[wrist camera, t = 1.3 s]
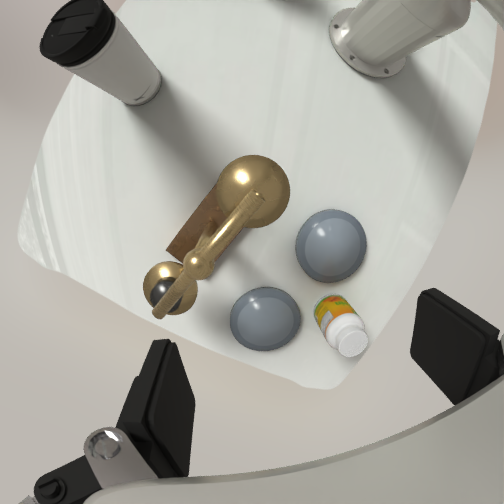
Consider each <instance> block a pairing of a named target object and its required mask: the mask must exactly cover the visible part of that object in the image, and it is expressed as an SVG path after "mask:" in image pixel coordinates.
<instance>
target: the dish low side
mask: <svg viewBox="0 0 504 504" xmlns="http://www.w3.org/2000/svg"><path fill="white" fill-rule="evenodd" d="M230 326H231V331H232V333H233V335H234V337H235V338H236V340H237V341H238V342H239V343H240V344H242V345H243V346H245V347H247V348H249V349H252V350H256V351H270V350H274V349H277V348H280V347H282V346H284V345H285V344H287V343H288V342H289V341H290V340H291V339H292V338H293V337H294V336H295V334H296V333H297V331H298V329H299V326H300V312H299V309H298V307H297V304H296V303H295V301H294V299H293V298H292V297H291V296H290V295H289V294H287V293H286V292H284V291H282V290H280V289H277V288H272V287H262V288H257V289H253V290H251V291H249V292H247V293H245V294H244V295H242V296H241V297H240V298H239V299H238V300H237V301H236V303H235V304H234V306H233V308H232V311H231V316H230Z"/></svg>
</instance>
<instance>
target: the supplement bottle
mask: <svg viewBox="0 0 504 504" xmlns="http://www.w3.org/2000/svg"><path fill="white" fill-rule="evenodd" d="M314 317H315V320H316V322H317V324H318V325H319V327H320V329H321V331H322V333H323V335H324V336H325V338H326V340H327V342H328V343H329V345H330V346H331V347H333V348H334V349H337V350H338V351H339V352H340V354H341V355H342V356H344V357H354V356H356V355H358V354H360V353H361V352H362V351H363V350H364V349H365V348H366V346H367V343H368V336H367V334H366V333H365V332H364V329H365V328H364V323H363V321H362V319H361V318H360V317H359V315H358V314H357V313H356V312H355V311H354V309H353V308H352V307H351V306H350V305H349V303H348V302H347V301H346V300H345V299H344V298H343V297H342V296H340V295H338V294H330V295H326V296H324V297H323V298H321V299H320V300H319V301H318V303H317V304H316V306H315V309H314Z"/></svg>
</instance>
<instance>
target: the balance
mask: <svg viewBox="0 0 504 504" xmlns="http://www.w3.org/2000/svg"><path fill="white" fill-rule="evenodd" d="M289 198H290V185H289V181H288V178H287V176H286V174H285V172H284V171H283V169H282V168H281V167H280V166H279V165H278V164H277V163H276V162H274V161H273V160H271V159H269V158H266V157H263V156H259V155H248V156H243V157H240V158H238V159H236V160H234V161H232V162H231V163H230V164H228V165H227V166H226V168H225V169H224V170H223V171H222V173H221V175H220V177H219V179H218V182H217V184H216V185H215V186H214V187H213V189H212V190H211V191H210V192H209V194H208V195H207V196H206V197H205V199H204V200H203V201H202V202H201V204H200V205H199V206H198V208H197V209H196V210H195V211H194V213H193V214H192V215H191V217H190V218H189V219H188V221H187V222H186V223H185V225H184V226H183V227H182V229H181V230H180V231H179V233H178V234H177V235H176V237H175V238H174V239H173V241H172V242H171V243H170V245H169V246H168V248H167V249H166V251H167V252H169V253H170V254H171V255H173V256H174V257H175V258H177V259H178V260H179V261H180V262H182V263H183V265H182V264H179V263H177V262H171V261H166V262H161V263H158V264H156V265H155V266H153V267H152V268H151V269H150V271H149V272H148V273H147V275H146V276H145V279H144V282H143V291H144V295H145V297H146V299H147V301H148V302H149V304H150V305H151V306H152V307H153V308H154V309H153V310H152V314H153V315H154V317H155V318H157V319H162V318H163V317H164V316H165V315H166V314H168V315H178V314H182V313H184V312H186V311H188V310H189V309H190V308H191V307H192V306H193V304H194V302H195V300H196V297H197V292H198V286H197V281H196V280H204V279H206V278H208V277H209V276H210V275H211V274H212V272H213V270H214V266H215V264H214V263H215V261H216V260H217V259H218V258H219V257H220V255H221V254H222V253H223V252H224V250H225V249H226V248H227V247H228V246H229V244H230V243H231V242H232V241H233V239H234V238H235V237H236V236H237V235H238V233H239V232H240V231H241V230H242V229H243V227H247V228H259V227H263V226H267V225H269V224H271V223H272V222H274V221H275V220H277V219H278V218H279V217H280V216H281V215H282V213H283V212H284V211H285V209H286V207H287V205H288V202H289Z"/></svg>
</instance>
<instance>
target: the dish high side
mask: <svg viewBox="0 0 504 504" xmlns="http://www.w3.org/2000/svg"><path fill="white" fill-rule="evenodd" d="M365 252H366V235H365V232H364V229H363V227H362V226H361V224H360V223H359V221H358V220H357V219H356V218H355V217H353V216H352V215H350V214H348V213H346V212H343V211H340V210H335V209H329V210H324V211H320V212H318V213H316V214H314V215H313V216H311V217H310V218H309V219H308V220H307V221H306V222H305V223H304V224H303V226H302V227H301V229H300V231H299V233H298V236H297V239H296V256H297V259H298V262H299V264H300V265H301V267H302V268H303V270H304V271H305V272H306V273H307V274H308V275H309V276H310V277H312V278H313V279H315V280H317V281H320V282H325V283H332V282H338V281H341V280H343V279H345V278H347V277H349V276H350V275H351V274H353V273H354V272H355V271H356V270H357V268H358V267H359V266H360V264H361V262H362V260H363V258H364V255H365Z"/></svg>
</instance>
